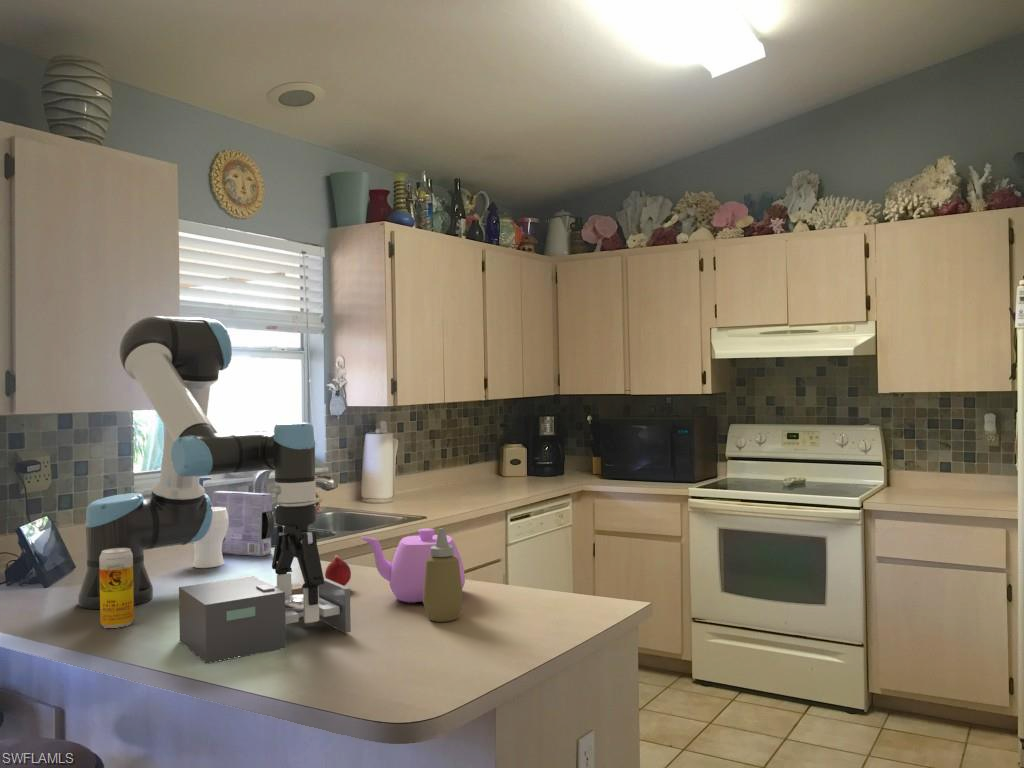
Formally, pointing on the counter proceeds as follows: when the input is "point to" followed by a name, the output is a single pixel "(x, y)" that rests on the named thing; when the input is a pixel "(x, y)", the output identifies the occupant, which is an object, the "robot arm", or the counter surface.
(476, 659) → the counter surface
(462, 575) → the teapot
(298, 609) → the disc
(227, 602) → the box
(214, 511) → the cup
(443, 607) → the squeeze bottle
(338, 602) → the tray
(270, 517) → the cake pan box
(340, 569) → the onion
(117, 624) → the beer can
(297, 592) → the brown wooden block
